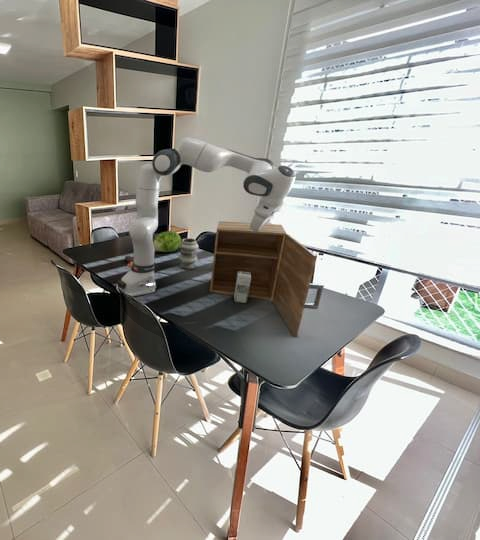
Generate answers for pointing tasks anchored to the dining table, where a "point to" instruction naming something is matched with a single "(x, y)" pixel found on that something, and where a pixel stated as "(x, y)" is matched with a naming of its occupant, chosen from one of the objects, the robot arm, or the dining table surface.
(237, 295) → the syrup box
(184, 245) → the ribbed grey vase
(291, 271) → the cabinet door
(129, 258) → the ice cream bar
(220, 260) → the cabinet
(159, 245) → the lettuce
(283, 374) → the dining table surface
